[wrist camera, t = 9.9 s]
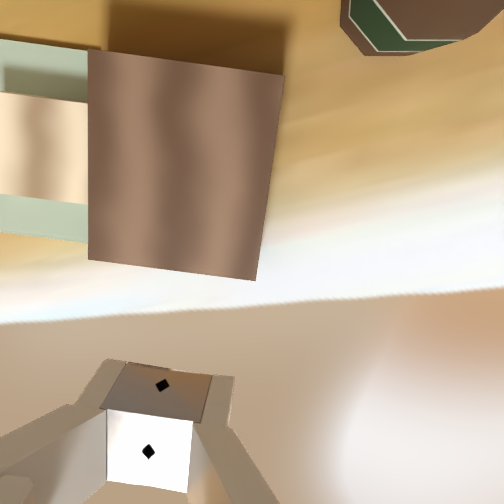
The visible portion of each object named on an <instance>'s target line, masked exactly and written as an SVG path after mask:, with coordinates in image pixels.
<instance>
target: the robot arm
mask: <svg viewBox="0 0 504 504" xmlns="http://www.w3.org/2000/svg"><path fill="white" fill-rule="evenodd" d="M234 383H235V378H234V377H232V376H223V375H208V374H201V373H194V372H187V371H180V370H173V369H169V368H163V367H157V366H151V365H144V364H139V363H133V362H126V361H120V360H113V359H106V360H104V361H103V362H102V364H101V365H100V367H99V368H98V369H97V371H96V372H95V374H94V375H93V377H92V378H91V380H90V381H89V383H88V384H87V386H86V387H85V388H84V390H83V391H82V393H81V394H80V396H79V397H78V399H77V400H76V402H75V403H74V405H69V404H66V405H64V406H62V407H60V408H58V409H56V410H54V411H52V412H50V413H48V414H46V415H44V416H42V417H40V418H38V419H36V420H34V421H32V422H30V423H28V424H26V425H24V426H22V427H20V428H18V429H16V430H14V431H12V432H10V433H8V434H6V435H4V436H2V437H0V504H82V503H83V502H84V501H85V500H86V499H88V498H89V497H90V496H91V495H92V494H94V493H95V492H96V491H97V490H98V489H99V488H101V487H102V486H103V485H104V484H105V483H106V480H109V481H118V482H127V483H134V484H143V485H149V486H155V487H160V488H166V489H171V490H177V491H183V492H186V496H187V498H188V501H189V504H280V503H279V501H278V500H277V498H276V497H275V495H274V493H273V492H272V490H271V489H270V487H269V486H268V484H267V482H266V481H265V479H264V477H263V476H262V474H261V472H260V471H259V469H258V468H257V466H256V464H255V463H254V461H253V460H252V458H251V456H250V455H249V453H248V452H247V450H246V448H245V447H244V445H243V444H242V442H241V440H240V439H239V437H238V436H237V434H236V432H235V431H234V429H231V428H229V423H230V414H231V407H232V399H233V392H234Z"/></svg>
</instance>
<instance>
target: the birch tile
mask: <svg viewBox="0 0 504 504" xmlns="http://www.w3.org/2000/svg"><path fill="white" fill-rule="evenodd" d="M0 194H7V195H15V196H23V197H31V198H38V199H46V200H54V201H62V202H70V203H78V204H85V205H88V102H83V101H75V100H67V99H60V98H52V97H45V96H37V95H29V94H22V93H14V92H7V91H0Z"/></svg>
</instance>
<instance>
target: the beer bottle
mask: <svg viewBox="0 0 504 504" xmlns="http://www.w3.org/2000/svg"><path fill="white" fill-rule="evenodd" d="M503 9H504V0H341V15H340V27H341V28H342V29H343V30H344V32H345V33H346V34H347V35H348V36H349V38H350V39H351V40H352V41H353V43H354V44H355V45H356V46H357V47H358V49H359V50H360V51H361V52H362V53H363V55H364V56H406V55H412V54H416V53H419V52H423V51H426V50H430V49H433V48H436V47H440V46H443V45H447V44H450V43H454V42H457V41H461V40H464V39H466V38H468V37H470V36H472V35H474V34H476V33H478V32H479V31H480V30H481V29H482V28H483V27H485V26H486V25H487V24H488V23H489V22H490V21H491V20H492V19H493V18H494V17H495V16H496V15H497V14H499V13H500V12H501V11H502V10H503Z"/></svg>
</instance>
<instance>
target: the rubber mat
mask: <svg viewBox="0 0 504 504" xmlns="http://www.w3.org/2000/svg"><path fill="white" fill-rule="evenodd" d="M0 91H7V92H14V93H22V94H29V95H37V96H45V97H52V98H60V99H67V100H75V101H83V102H88V63H87V51H84V50H77V49H70V48H63V47H55V46H48V45H41V44H34V43H26V42H19V41H12V40H4V39H0ZM0 232H5V233H12V234H20V235H28V236H35V237H43V238H51V239H59V240H66V241H74V242H82V243H88V205H85V204H78V203H70V202H62V201H54V200H46V199H38V198H31V197H23V196H15V195H7V194H0Z"/></svg>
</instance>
